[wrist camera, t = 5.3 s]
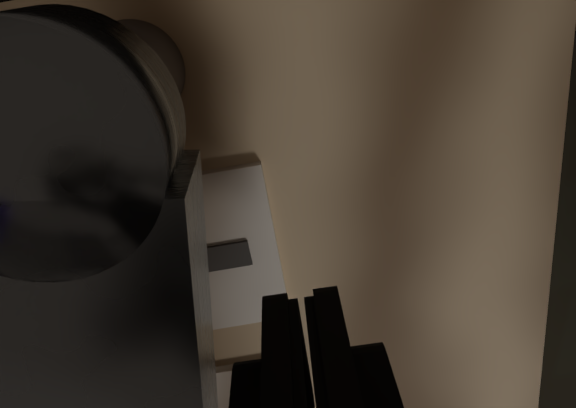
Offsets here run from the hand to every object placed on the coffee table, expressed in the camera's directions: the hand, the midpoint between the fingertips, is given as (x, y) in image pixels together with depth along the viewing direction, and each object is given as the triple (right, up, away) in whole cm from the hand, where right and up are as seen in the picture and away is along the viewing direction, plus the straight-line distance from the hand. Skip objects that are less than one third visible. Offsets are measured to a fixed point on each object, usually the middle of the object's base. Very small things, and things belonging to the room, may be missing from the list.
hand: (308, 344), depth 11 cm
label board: (-3, 0, +6) cm, 7 cm away
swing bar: (-4, -3, +1) cm, 5 cm away
